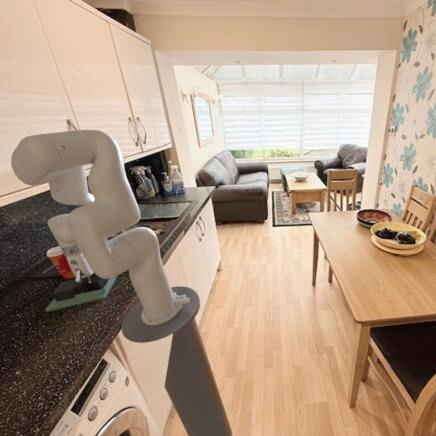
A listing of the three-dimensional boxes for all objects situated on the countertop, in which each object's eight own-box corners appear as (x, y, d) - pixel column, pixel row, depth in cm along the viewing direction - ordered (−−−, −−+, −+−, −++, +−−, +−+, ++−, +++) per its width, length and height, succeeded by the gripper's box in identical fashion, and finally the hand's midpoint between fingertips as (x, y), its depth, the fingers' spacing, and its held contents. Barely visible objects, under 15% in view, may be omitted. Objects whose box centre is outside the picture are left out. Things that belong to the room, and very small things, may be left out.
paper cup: (61, 275, 107) (45, 249, 101) (82, 267, 112) (68, 242, 106) (61, 283, 102) (44, 256, 96) (83, 275, 106) (69, 248, 100)
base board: (117, 276, 104) (112, 267, 102) (105, 298, 92) (100, 288, 90) (65, 287, 99) (60, 277, 97) (46, 312, 87) (39, 301, 85)
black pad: (108, 278, 100) (104, 271, 98) (102, 289, 94) (98, 281, 92) (90, 282, 98) (86, 275, 96) (83, 293, 92) (78, 285, 91)
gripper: (76, 257, 81) (97, 296, 89) (96, 234, 96) (113, 269, 104) (50, 262, 80) (74, 302, 87) (75, 237, 95) (93, 273, 102)
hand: (95, 284), depth 96 cm, fingers closed on black pad, 6 cm apart
